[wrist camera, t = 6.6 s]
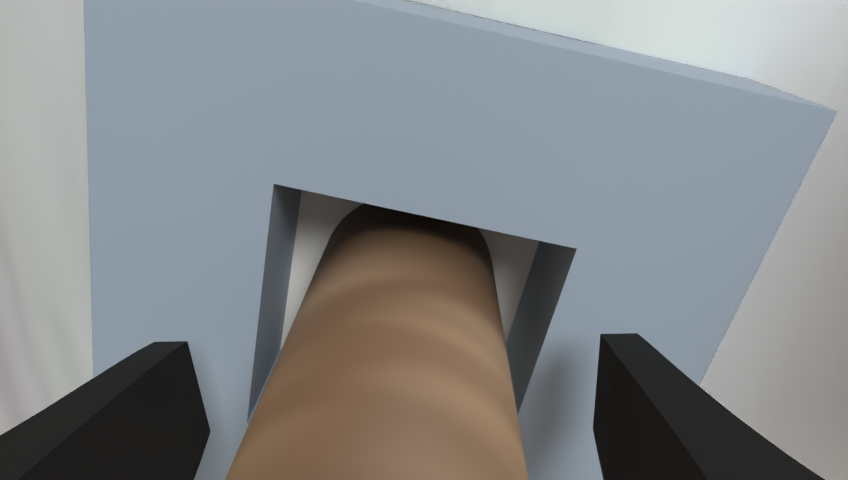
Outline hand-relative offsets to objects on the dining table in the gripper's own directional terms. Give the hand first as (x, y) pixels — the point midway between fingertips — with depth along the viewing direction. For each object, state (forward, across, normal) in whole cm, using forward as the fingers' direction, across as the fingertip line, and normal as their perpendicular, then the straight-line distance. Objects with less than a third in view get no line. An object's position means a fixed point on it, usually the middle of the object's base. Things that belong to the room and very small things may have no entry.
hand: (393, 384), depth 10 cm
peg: (+4, 0, 0) cm, 4 cm away
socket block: (+4, 0, 0) cm, 4 cm away
